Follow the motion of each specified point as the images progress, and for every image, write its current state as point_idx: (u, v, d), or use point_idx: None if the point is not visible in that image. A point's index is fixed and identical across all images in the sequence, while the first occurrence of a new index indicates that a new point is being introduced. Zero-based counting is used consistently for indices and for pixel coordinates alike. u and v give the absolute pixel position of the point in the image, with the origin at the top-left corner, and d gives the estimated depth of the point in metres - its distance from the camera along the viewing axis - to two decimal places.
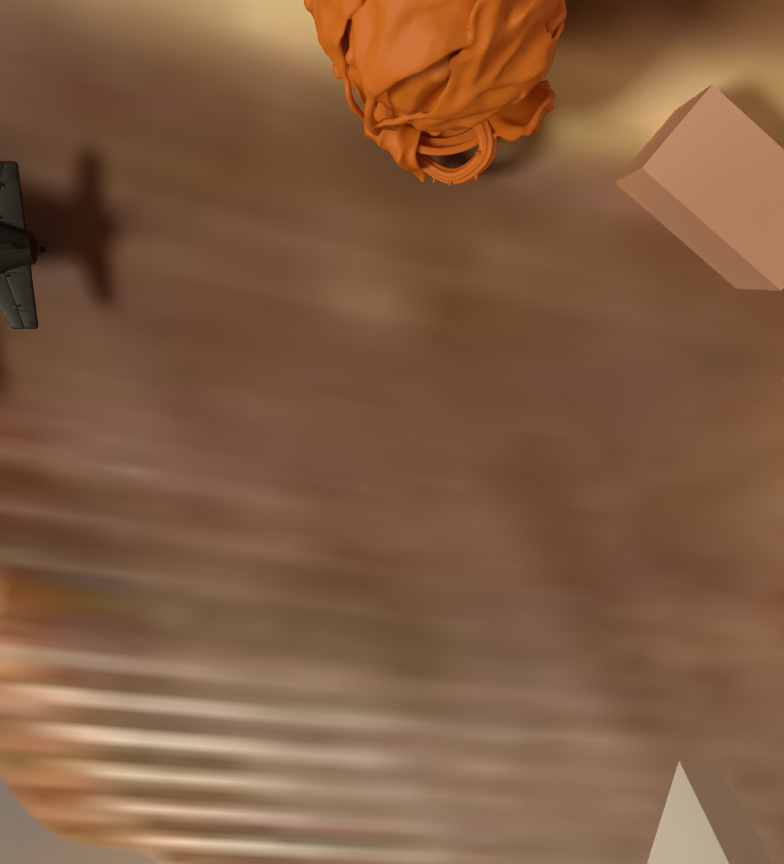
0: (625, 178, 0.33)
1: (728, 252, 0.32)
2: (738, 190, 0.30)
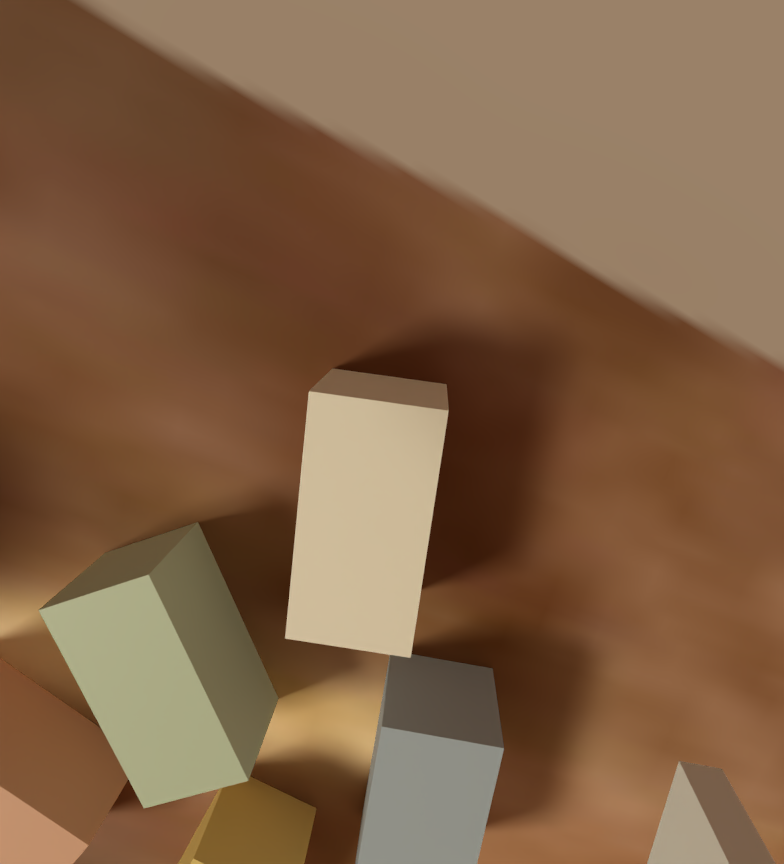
0: None
1: None
2: None
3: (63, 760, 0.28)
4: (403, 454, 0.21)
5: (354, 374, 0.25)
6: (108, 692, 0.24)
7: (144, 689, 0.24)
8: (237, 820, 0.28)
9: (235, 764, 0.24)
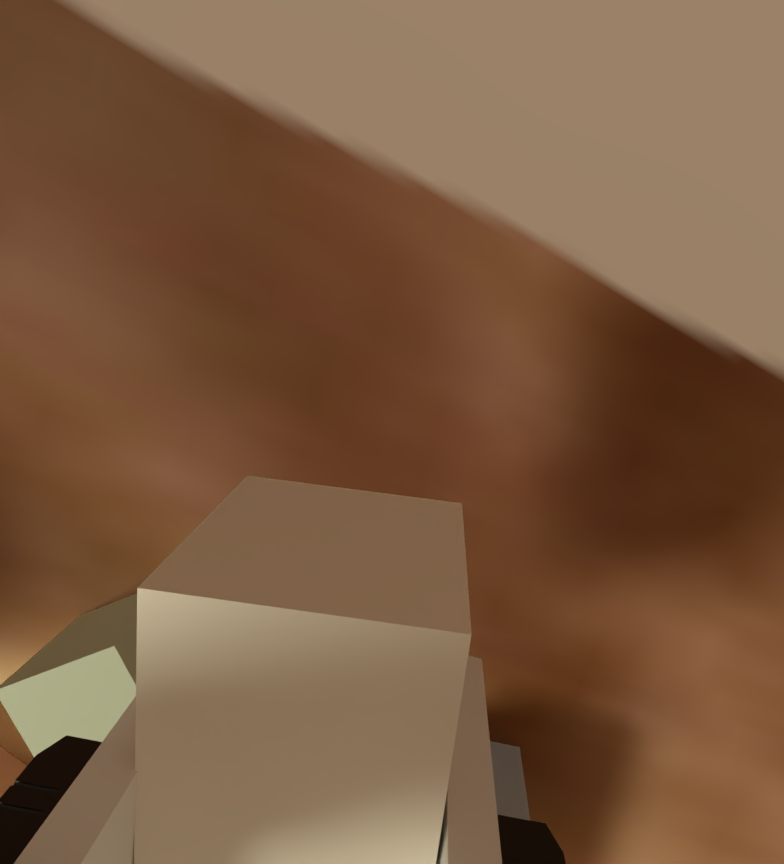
0: None
1: None
2: None
3: None
4: (366, 728, 0.09)
5: (282, 494, 0.13)
6: None
7: None
8: None
9: None
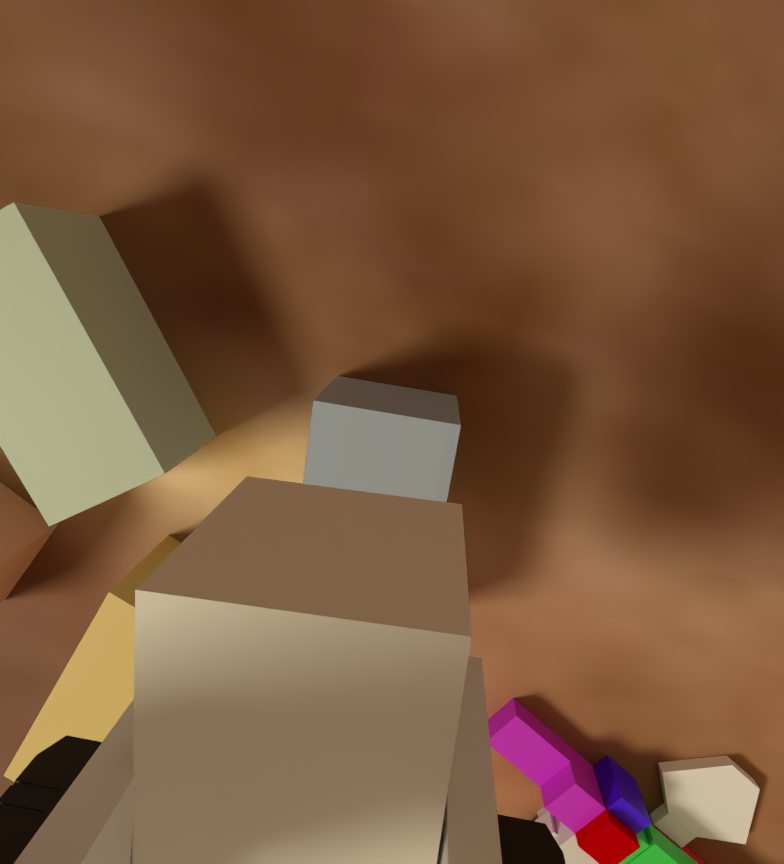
0: None
1: None
2: None
3: None
4: (366, 731, 0.09)
5: (281, 495, 0.13)
6: None
7: (29, 363, 0.20)
8: None
9: (147, 453, 0.20)
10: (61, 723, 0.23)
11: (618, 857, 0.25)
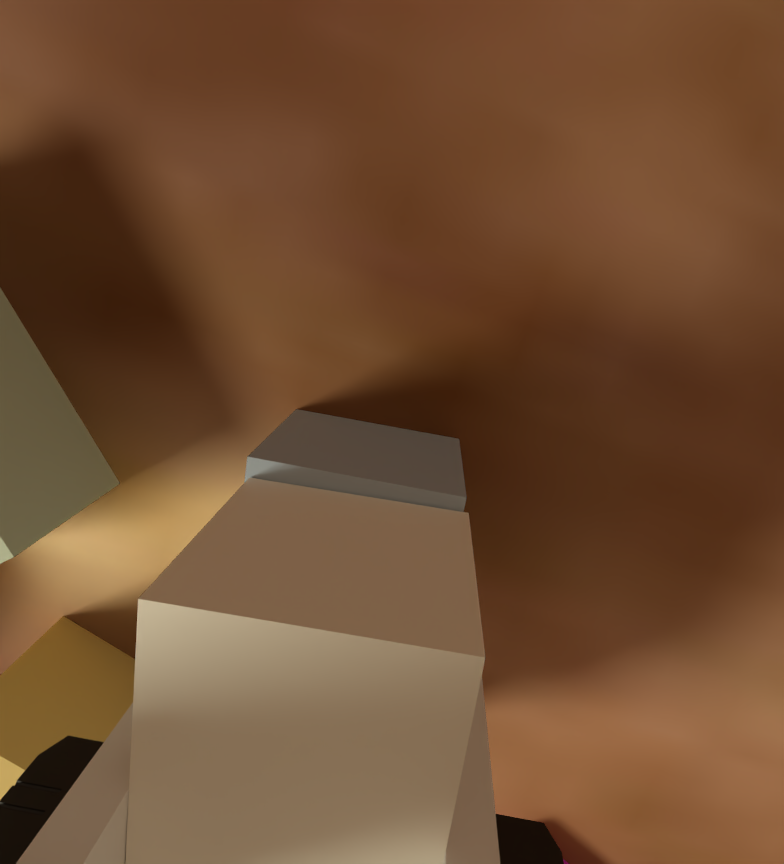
0: None
1: None
2: None
3: None
4: (371, 750, 0.09)
5: (285, 499, 0.12)
6: None
7: None
8: (49, 686, 0.17)
9: None
10: None
11: None
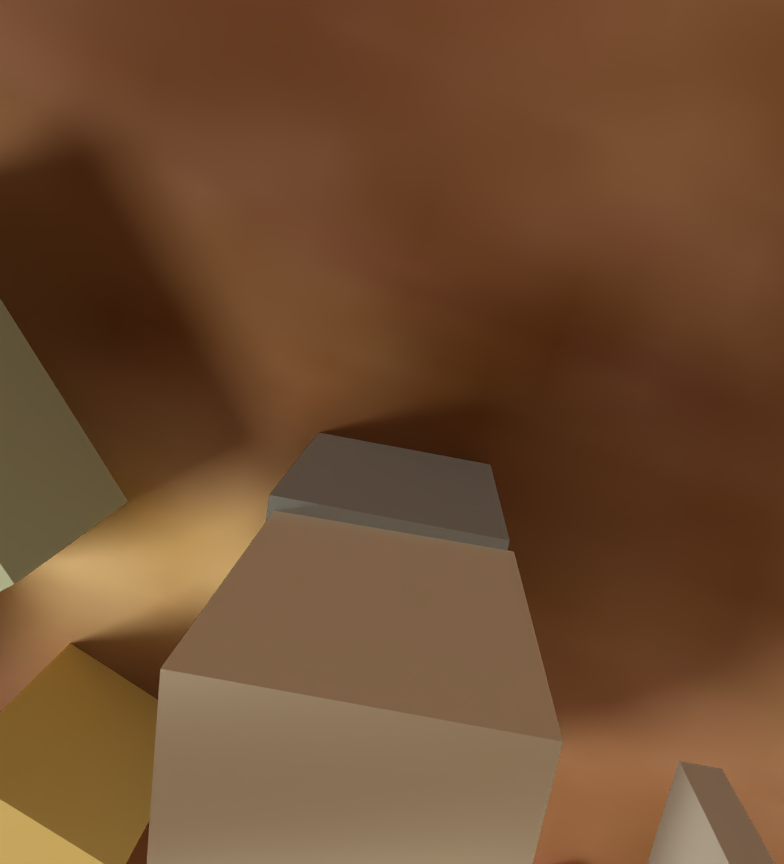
0: None
1: None
2: None
3: None
4: (427, 843, 0.07)
5: (315, 537, 0.11)
6: None
7: None
8: (55, 720, 0.17)
9: None
10: None
11: None
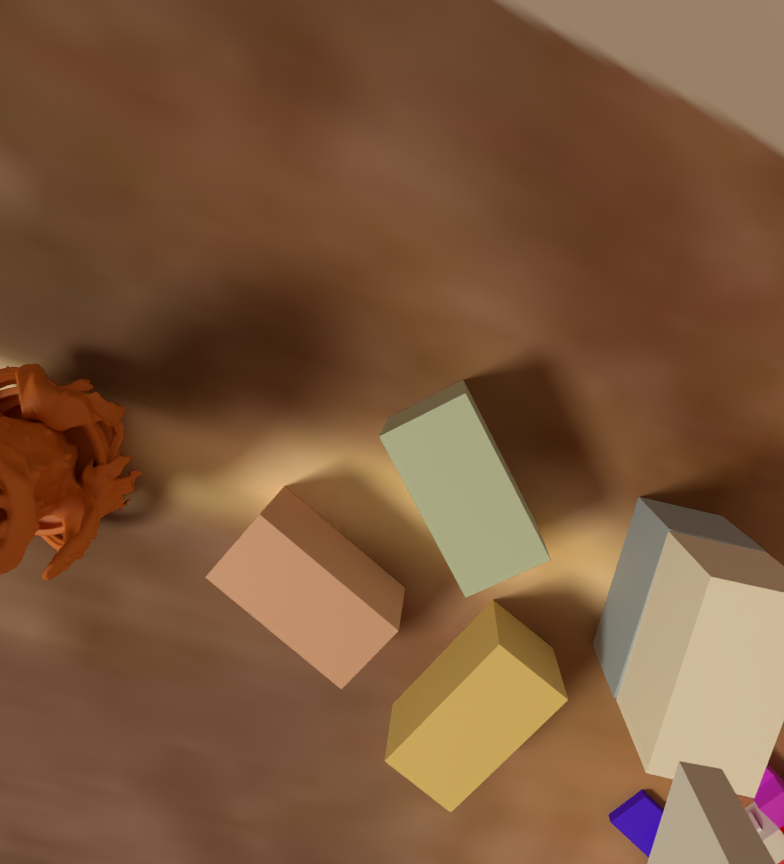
0: None
1: None
2: (293, 603, 0.32)
3: (361, 574, 0.34)
4: (782, 633, 0.25)
5: (695, 542, 0.29)
6: (435, 498, 0.31)
7: (464, 492, 0.30)
8: (512, 634, 0.34)
9: (539, 546, 0.31)
10: (438, 729, 0.33)
11: None
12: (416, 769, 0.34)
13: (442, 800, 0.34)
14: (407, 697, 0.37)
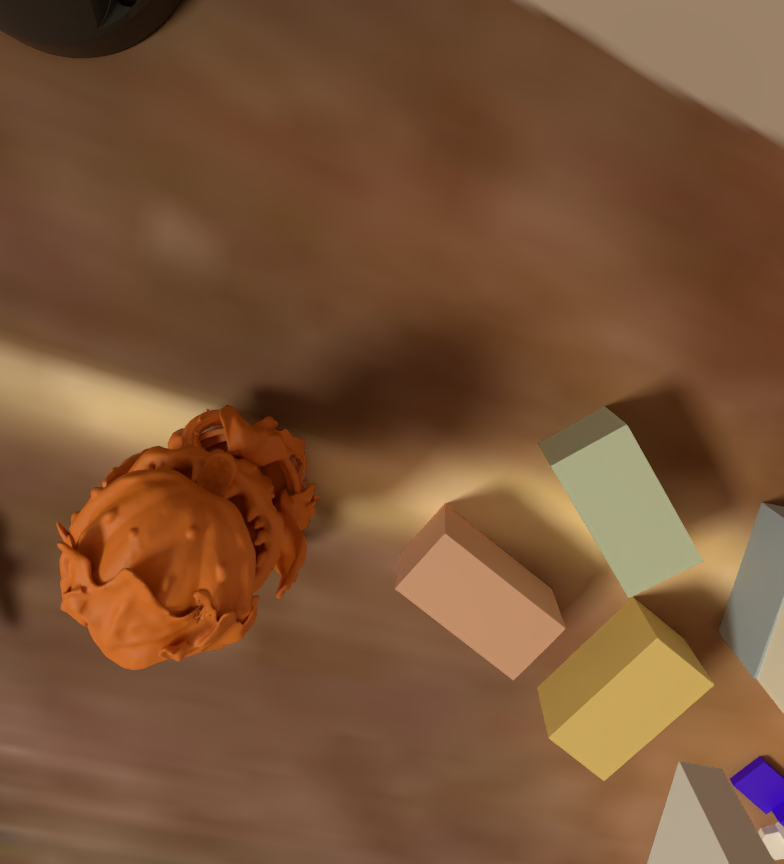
0: (399, 566, 0.40)
1: None
2: (473, 608, 0.37)
3: (523, 580, 0.39)
4: None
5: None
6: (601, 515, 0.35)
7: (626, 508, 0.35)
8: (658, 627, 0.39)
9: (693, 550, 0.35)
10: (597, 710, 0.38)
11: None
12: (576, 744, 0.39)
13: (597, 770, 0.39)
14: (554, 681, 0.42)
